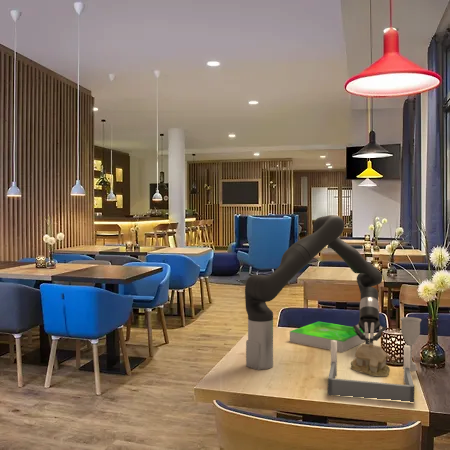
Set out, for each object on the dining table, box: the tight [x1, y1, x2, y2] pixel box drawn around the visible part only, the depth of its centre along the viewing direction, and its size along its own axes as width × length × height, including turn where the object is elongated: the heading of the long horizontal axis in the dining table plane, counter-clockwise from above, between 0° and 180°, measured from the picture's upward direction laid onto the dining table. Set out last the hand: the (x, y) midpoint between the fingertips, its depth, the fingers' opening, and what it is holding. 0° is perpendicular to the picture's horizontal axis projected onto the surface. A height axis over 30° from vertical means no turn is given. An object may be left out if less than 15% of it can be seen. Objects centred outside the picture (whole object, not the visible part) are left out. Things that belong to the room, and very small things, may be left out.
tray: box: [289, 321, 370, 353], centre depth 217 cm, size 25×25×5 cm
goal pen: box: [327, 340, 415, 403], centre depth 160 cm, size 20×26×12 cm
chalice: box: [399, 316, 422, 372], centre depth 179 cm, size 7×7×18 cm
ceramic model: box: [350, 342, 391, 377], centre depth 177 cm, size 14×11×10 cm
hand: (369, 348), depth 191 cm, fingers closed
